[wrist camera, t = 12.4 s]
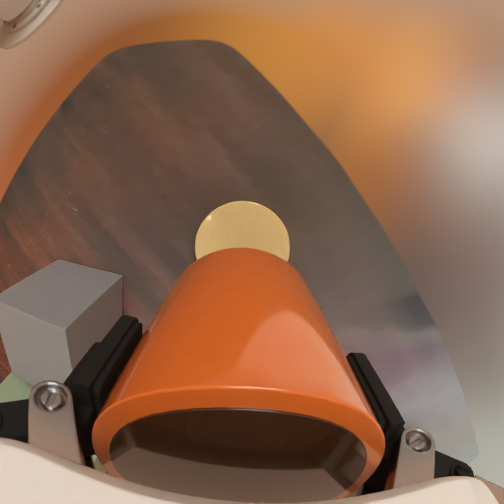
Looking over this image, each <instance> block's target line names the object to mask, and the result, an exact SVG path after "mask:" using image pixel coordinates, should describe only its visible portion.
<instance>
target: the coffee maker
mask: <svg viewBox="0 0 504 504" xmlns="http://www.w3.org/2000/svg"><path fill="white" fill-rule="evenodd" d="M122 296H123V275H120V274H116V273H112V272H108V271H104V270H99V269H96V268H92V267H88V266H84V265H80V264H76V263H72V262H69V261H65V260H61V259H59V260H57V261H55V262H53V263H51V264H50V265H48V266H46V267H44V268H42V269H41V270H39V271H37V272H35V273H33V274H32V275H30V276H28V277H27V278H25V279H23V280H21V281H20V282H18V283H16V284H15V285H13V286H11V287H10V288H8V289H7V290H5V291H3V292H2V293H0V333H1V337H2V340H3V344H4V348H5V351H6V354H7V357H8V361H9V364H10V367H11V370H12V372H11V373H10V374H9V375H8V376H7V378H6V379H5V380H4V381H3V382H2V383H1V384H0V403H2V402H10V401H17V400H24V399H29V395H30V391H31V389H32V388H33V386H35V385H36V384H37V383H39V382H42V381H47V380H53V381H58V382H60V383H64V381H65V380H66V379H67V377H68V376H69V375H70V373H71V372H72V371H73V370H74V368H75V367H76V366H77V364H78V363H79V362H80V360H81V359H82V358H83V357H84V355H85V354H86V353H87V351H88V350H89V349H90V348H91V346H92V345H93V344H94V343H95V342H101V341H102V340H103V338H104V337H105V336H106V335H107V333H108V332H109V331H110V330H111V328H112V327H113V326H114V325H115V323H116V322H117V321H118V320H119V318H120V317H121V316H122ZM92 458H93V462H94V466H95V470H97V471H100V472H103V473H106V470H105V468H104V467H103V466H102V464H101V463H100V461H99V460H98V458H97V456H96V454H95V455H92Z"/></svg>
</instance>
